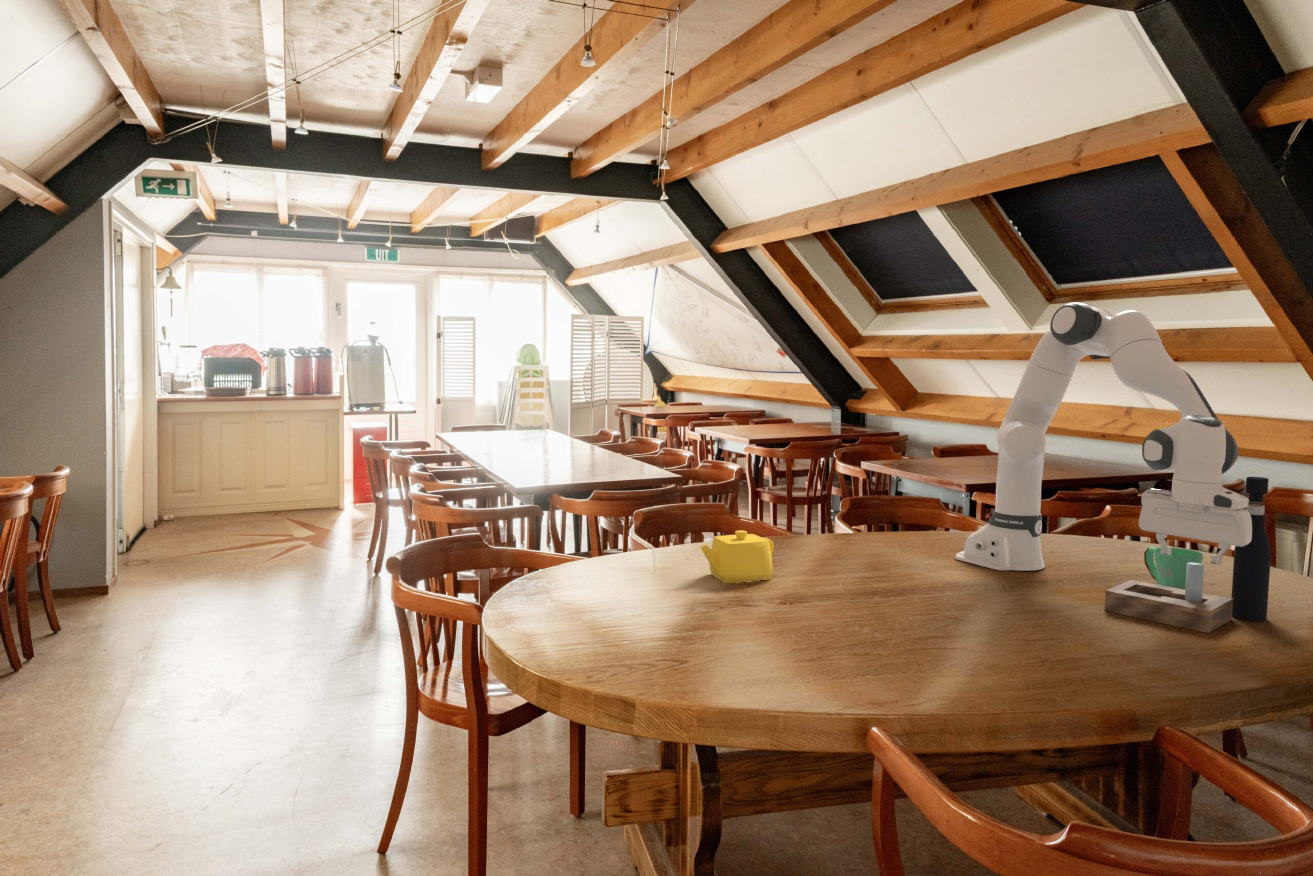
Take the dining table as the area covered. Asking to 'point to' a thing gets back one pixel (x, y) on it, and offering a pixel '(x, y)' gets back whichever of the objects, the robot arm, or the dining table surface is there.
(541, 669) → the dining table surface
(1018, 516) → the robot arm
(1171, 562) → the mug
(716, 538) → the teapot
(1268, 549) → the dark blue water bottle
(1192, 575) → the peg
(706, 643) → the dining table surface
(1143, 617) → the keyhole board
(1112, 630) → the dining table surface
